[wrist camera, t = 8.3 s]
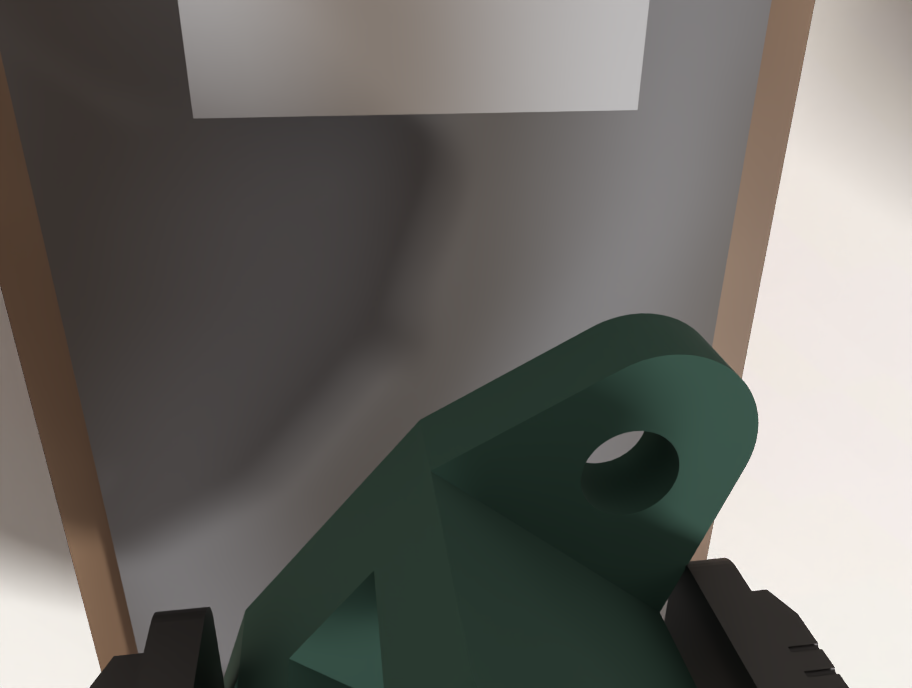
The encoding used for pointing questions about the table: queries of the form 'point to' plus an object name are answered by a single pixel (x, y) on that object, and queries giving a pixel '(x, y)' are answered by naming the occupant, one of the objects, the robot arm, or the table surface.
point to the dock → (348, 243)
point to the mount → (519, 530)
